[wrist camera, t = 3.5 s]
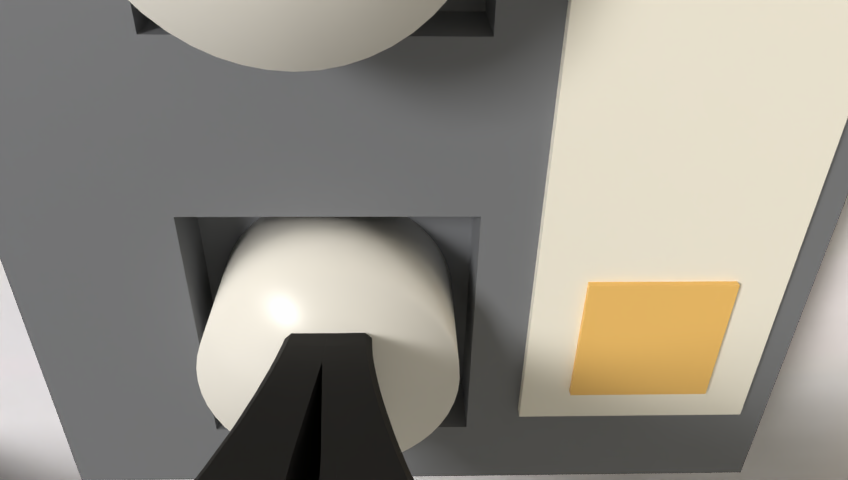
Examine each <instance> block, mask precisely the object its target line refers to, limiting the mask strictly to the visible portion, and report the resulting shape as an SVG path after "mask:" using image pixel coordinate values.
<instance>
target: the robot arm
mask: <svg viewBox="0 0 848 480" xmlns="http://www.w3.org/2000/svg"><path fill="white" fill-rule="evenodd" d="M194 480H414V479H413V477H412V475H411V473H410V470H409V468H408V466H407V463H406V461H405V459H404V456H403V454H402V452H401V449H400V447H399V444H398V442H397V439H396V436H395V434H394V431H393V428H392V425H391V422H390V419H389V416H388V414H387V411H386V408H385V405H384V402H383V398H382V395H381V391H380V387H379V383H378V379H377V375H376V371H375V366H374V360H373V351H372V338H371V337H370V336H369V335H368V334H366V333H291V334H290V335H289V336H287V337H286V338H285V339H284V342H283V344H282V346H281V348H280V350H279V352H278V354H277V356H276V358H275V360H274V361H273V363H272V365H271V367H270V369H269V371H268V372H267V374H266V376H265V377H264V379H263V381H262V383H261V384H260V386H259V388H258V389H257V391H256V393H255V394H254V396H253V397H252V399H251V400H250V402H249V403H248V405H247V407H246V408H245V410H244V411H243V413H242V414H241V416H240V417H239V419H238V421H237V422H236V424H235V425H234V427H233V428H232V429H231V431H230V432H229V434H228V435H227V437H226V438H225V439H224V441H223V442H222V443H221V445H220V446H219V447H218V449H217V450H216V452H215V453H214V454H213V456H212V457H211V458H210V460H209V461H208V462H207V464H206V465H205V467H204V468H203V469H202V470H201V472H200V473H199V474H198V476H197V477H196V478H195V479H194Z"/></svg>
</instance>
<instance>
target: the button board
mask: <svg viewBox="0 0 848 480" xmlns="http://www.w3.org/2000/svg"><path fill="white" fill-rule="evenodd" d="M847 195H848V0H447V1H446V2H445V3H444V4H443V5H442V7H441V8H440V9H439V10H438V11H437V12H436V13H435V14H434V15H433V16H432V17H431V18H430V19H429V20H428V21H426V22H425V23H424V24H423V25H422V26H421V27H419V28H418V29H417V30H416V31H415V32H413V33H412V34H410V35H409V36H407V37H406V38H404V39H403V40H401V41H400V42H398V43H397V44H395V45H394V46H392V47H390V48H388V49H386V50H384V51H382V52H380V53H377V54H375V55H373V56H371V57H369V58H366V59H363V60H360V61H357V62H354V63H351V64H348V65H345V66H340V67H334V68H329V69H324V70H316V71H299V72H289V71H274V70H265V69H259V68H254V67H249V66H244V65H240V64H237V63H233V62H230V61H227V60H224V59H221V58H218V57H215V56H213V55H210V54H208V53H206V52H204V51H202V50H199V49H197V48H195V47H193V46H190V45H189V44H187V43H185V42H184V41H182V40H180V39H179V38H177V37H175V36H173V35H172V34H170V33H168V32H167V31H165V30H164V29H163V28H161V27H160V26H158V25H157V24H156V23H154V22H153V21H152V20H150V19H149V18H148V17H146V16H145V15H144V14H142V13H141V12H140V11H139V10H138V9H137V8H136V7H135V6H134V5H133V4H132V3H131V2H130V1H128V0H0V259H1V262H2V265H3V267H4V270H5V273H6V276H7V278H8V281H9V284H10V286H11V289H12V292H13V295H14V297H15V300H16V303H17V305H18V308H19V311H20V314H21V316H22V319H23V322H24V324H25V327H26V330H27V332H28V335H29V338H30V341H31V343H32V346H33V349H34V351H35V354H36V357H37V360H38V362H39V365H40V368H41V370H42V373H43V376H44V379H45V381H46V384H47V387H48V389H49V392H50V395H51V397H52V400H53V403H54V406H55V408H56V411H57V414H58V416H59V419H60V422H61V425H62V427H63V430H64V433H65V435H66V438H67V441H68V444H69V446H70V449H71V452H72V454H73V457H74V460H75V462H76V465H77V468H78V471H79V473H80V476H81V479H82V480H160V479H195V478H196V477H197V476H198V474H199V473H200V472H201V470H202V469H203V468H204V467H205V465H206V464H207V462H208V461H209V460H210V458H211V457H212V456H213V454H214V453H215V452H216V450H217V449H218V447H219V446H220V445H221V443H222V442H223V441H224V439H225V438H226V437H227V435H228V434H229V432H230V431H229V430H228V429H227V428H225V427H224V426H223V425H222V423H221V422H220V421H219V420H218V419H217V418H216V417H215V416H214V414H213V413H212V411H211V410H210V408H209V407H208V406H207V404H206V402H205V400H204V398H203V396H202V394H201V390H200V387H199V384H198V379H197V371H196V365H197V354H198V350H199V346H200V343H201V340H202V337H203V334H204V331H205V328H206V325H207V322H208V319H209V316H210V313H211V310H212V307H213V304H214V301H215V297H216V294H217V291H218V288H219V285H220V282H221V279H222V276H223V273H224V270H225V267H226V264H227V261H228V258H229V256H230V254H231V252H232V249H233V247H234V246H235V244H236V243H237V241H238V240H239V238H240V236H241V235H242V234H243V233H244V232H245V231H246V230H247V229H248V228H249V227H250V226H251V225H252V224H253V223H254V222H256V221H257V220H258V219H259V218H260V217H408V218H410V219H411V220H412V221H414V222H415V223H416V224H418V225H419V226H420V227H421V228H422V229H423V230H424V231H425V232H426V233H427V234H428V235H429V236H430V237H431V238H432V239H433V241H434V242H435V243H436V245H437V246H438V248H439V249H440V251H441V253H442V255H443V256H444V258H445V261H446V264H447V266H448V269H449V274H450V279H451V287H452V297H453V307H454V318H455V328H456V338H457V348H458V359H459V373H460V380H459V387H458V392H457V395H456V398H455V401H454V404H453V406H452V408H451V409H450V411H449V413H448V415H447V416H446V417H445V419H444V420H443V422H442V423H441V424H440V425H439V426H438V427H437V428H436V429H435V430H434V431H433V432H432V433H431V434H430V435H429V436H427V437H426V438H425V439H424V440H422V441H421V442H419V443H418V444H416V445H414V446H413V447H411V448H409V449H408V450H405V451H403V452H402V454H403V456H404V459H405V461H406V463H407V466H408V468H409V470H410V473H411V475H412V476H475V475H554V474H633V473H712V472H741V469H742V467H743V464H744V462H745V459H746V457H747V454H748V451H749V449H750V446H751V444H752V441H753V438H754V436H755V433H756V431H757V428H758V425H759V423H760V420H761V418H762V415H763V413H764V410H765V407H766V405H767V402H768V400H769V397H770V394H771V392H772V389H773V387H774V384H775V381H776V379H777V376H778V374H779V371H780V369H781V366H782V363H783V361H784V358H785V356H786V353H787V350H788V348H789V345H790V343H791V340H792V337H793V335H794V332H795V330H796V327H797V325H798V322H799V319H800V317H801V314H802V312H803V309H804V306H805V304H806V301H807V299H808V296H809V293H810V291H811V288H812V286H813V283H814V281H815V278H816V275H817V273H818V270H819V268H820V265H821V262H822V260H823V257H824V255H825V252H826V250H827V247H828V244H829V242H830V239H831V237H832V234H833V231H834V229H835V226H836V224H837V221H838V218H839V216H840V213H841V211H842V208H843V206H844V203H845V200H846V198H847Z"/></svg>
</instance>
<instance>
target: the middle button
mask: <svg viewBox="0 0 848 480" xmlns="http://www.w3.org/2000/svg"><path fill="white" fill-rule="evenodd" d="M128 1H130V2H131V3H132V4H133V5H134V6H135V7H136V8H137V9H138V10H139V11H140V12H141V13H142V14H144V15H145V16H146V17H148V18H149V19H150V20H152V21H153V22H154V23H156V24H157V25H158V26H160V27H161V28H163V29H164V30H165V31H167V32H168V33H170V34H172V35H173V36H175V37H177V38H179V39H180V40H182V41H184V42H185V43H187V44H189V45H190V46H193V47H195V48H197V49H199V50H202V51H204V52H206V53H208V54H210V55H213V56H215V57H218V58H221V59H224V60H227V61H230V62H233V63H237V64H240V65H244V66H249V67H254V68H259V69H265V70H274V71H289V72H299V71H316V70H324V69H329V68H334V67H340V66H345V65H348V64H351V63H354V62H357V61H360V60H363V59H366V58H369V57H371V56H373V55H375V54H377V53H380V52H382V51H384V50H386V49H388V48H390V47H392V46H394V45H395V44H397V43H398V42H400V41H401V40H403V39H404V38H406V37H407V36H409V35H410V34H412V33H413V32H415V31H416V30H417V29H418V28H419V27H421V26H422V25H423V24H424V23H425V22H426V21H428V20H429V19H430V18H431V17H432V16H433V15H434V14H435V13H436V12H437V11H438V10H439V9H440V8H441V7H442V5H443V4H444V3H445V2H446V1H447V0H128Z"/></svg>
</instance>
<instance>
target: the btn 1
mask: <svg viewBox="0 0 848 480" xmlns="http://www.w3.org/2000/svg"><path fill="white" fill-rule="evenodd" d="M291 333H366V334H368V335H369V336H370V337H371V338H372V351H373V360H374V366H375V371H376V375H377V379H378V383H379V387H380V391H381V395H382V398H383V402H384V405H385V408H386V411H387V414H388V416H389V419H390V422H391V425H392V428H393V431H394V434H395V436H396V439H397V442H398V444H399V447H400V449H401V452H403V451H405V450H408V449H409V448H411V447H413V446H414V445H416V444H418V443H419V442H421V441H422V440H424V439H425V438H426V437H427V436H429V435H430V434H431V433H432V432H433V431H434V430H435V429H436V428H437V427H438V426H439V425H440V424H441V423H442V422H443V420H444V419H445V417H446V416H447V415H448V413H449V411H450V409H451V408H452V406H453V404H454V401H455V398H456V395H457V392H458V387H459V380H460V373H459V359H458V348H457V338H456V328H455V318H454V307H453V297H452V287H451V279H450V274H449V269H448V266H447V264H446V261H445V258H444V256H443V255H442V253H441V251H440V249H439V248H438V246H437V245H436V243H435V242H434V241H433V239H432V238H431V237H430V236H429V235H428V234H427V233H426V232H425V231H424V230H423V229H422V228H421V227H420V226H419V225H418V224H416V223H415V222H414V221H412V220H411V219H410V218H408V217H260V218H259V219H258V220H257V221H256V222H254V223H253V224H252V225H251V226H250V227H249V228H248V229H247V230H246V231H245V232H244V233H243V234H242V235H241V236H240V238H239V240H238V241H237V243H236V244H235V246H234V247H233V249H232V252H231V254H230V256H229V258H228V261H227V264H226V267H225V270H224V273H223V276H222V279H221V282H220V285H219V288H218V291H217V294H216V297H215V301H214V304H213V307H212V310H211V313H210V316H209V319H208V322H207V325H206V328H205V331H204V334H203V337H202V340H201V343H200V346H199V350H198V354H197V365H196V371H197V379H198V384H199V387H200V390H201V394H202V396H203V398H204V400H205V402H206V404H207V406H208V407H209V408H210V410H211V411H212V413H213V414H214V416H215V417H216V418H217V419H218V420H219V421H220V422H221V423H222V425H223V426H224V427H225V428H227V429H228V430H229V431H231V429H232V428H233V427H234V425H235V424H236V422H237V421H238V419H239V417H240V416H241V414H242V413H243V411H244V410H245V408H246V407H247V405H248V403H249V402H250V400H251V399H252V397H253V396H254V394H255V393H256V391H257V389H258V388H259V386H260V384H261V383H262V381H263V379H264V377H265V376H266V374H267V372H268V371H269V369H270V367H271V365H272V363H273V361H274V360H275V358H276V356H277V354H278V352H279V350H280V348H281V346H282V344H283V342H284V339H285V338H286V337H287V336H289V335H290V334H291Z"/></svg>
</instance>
